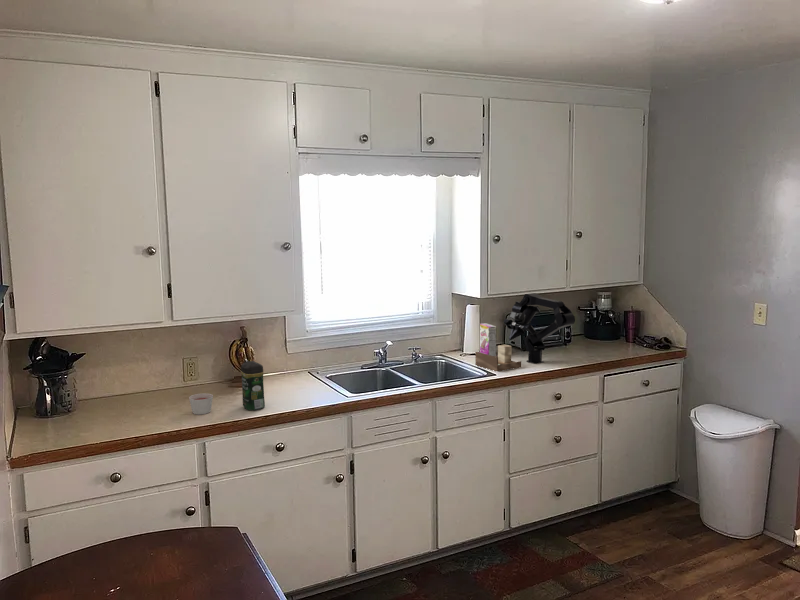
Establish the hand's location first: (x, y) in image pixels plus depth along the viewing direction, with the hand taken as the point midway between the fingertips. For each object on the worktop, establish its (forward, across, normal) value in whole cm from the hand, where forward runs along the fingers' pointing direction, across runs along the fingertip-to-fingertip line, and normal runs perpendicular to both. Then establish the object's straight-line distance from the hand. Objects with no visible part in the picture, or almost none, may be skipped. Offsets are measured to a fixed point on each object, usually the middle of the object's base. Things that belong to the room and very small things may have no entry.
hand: (509, 339), depth 333 cm
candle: (+119, -7, -100) cm, 156 cm away
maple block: (+10, +2, +4) cm, 11 cm away
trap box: (+15, +2, +3) cm, 15 cm away
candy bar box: (+6, -22, +14) cm, 27 cm away
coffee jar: (+105, -1, -87) cm, 137 cm away
